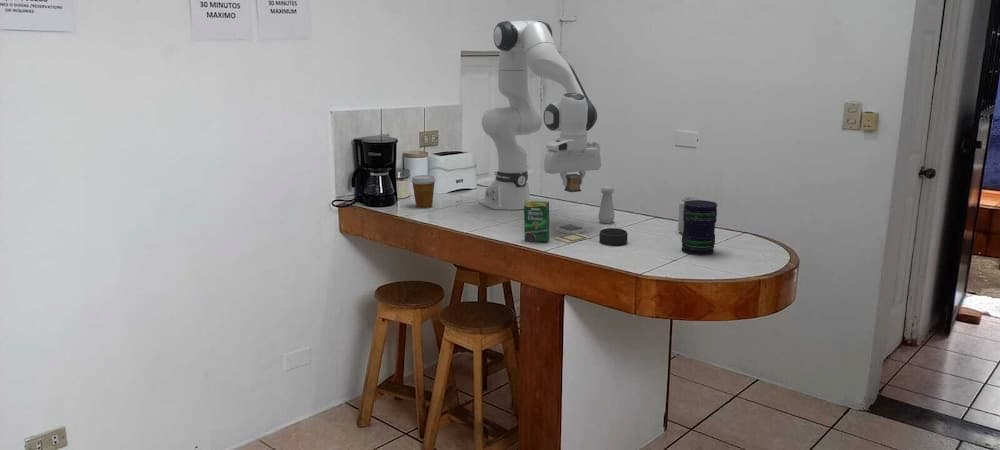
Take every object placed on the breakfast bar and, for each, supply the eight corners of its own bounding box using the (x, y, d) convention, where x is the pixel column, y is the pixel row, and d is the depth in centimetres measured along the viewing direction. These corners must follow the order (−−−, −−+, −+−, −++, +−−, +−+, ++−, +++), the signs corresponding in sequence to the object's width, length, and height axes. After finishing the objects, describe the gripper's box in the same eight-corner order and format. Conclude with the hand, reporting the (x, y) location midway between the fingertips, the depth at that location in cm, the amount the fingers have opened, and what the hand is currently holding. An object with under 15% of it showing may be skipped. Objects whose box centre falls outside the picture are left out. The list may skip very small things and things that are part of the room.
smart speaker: (621, 247, 222) (622, 235, 222) (595, 244, 227) (595, 232, 226) (631, 241, 230) (631, 229, 229) (605, 238, 234) (605, 226, 233)
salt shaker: (614, 224, 252) (615, 188, 249) (597, 223, 253) (598, 187, 250) (614, 220, 257) (616, 185, 254) (598, 220, 258) (599, 184, 255)
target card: (554, 238, 233) (554, 237, 233) (576, 234, 239) (576, 232, 239) (568, 243, 228) (568, 241, 227) (591, 238, 233) (591, 236, 233)
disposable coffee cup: (423, 203, 289) (422, 174, 286) (441, 206, 283) (440, 176, 280) (407, 207, 281) (406, 177, 278) (425, 210, 276) (424, 179, 273)
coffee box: (523, 240, 231) (523, 201, 227) (526, 238, 233) (526, 199, 230) (546, 243, 227) (547, 203, 224) (549, 241, 230) (550, 201, 227)
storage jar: (694, 257, 212) (697, 207, 208) (674, 248, 220) (676, 201, 217) (721, 253, 216) (724, 205, 212) (700, 245, 224) (703, 199, 221)
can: (685, 229, 245) (687, 195, 242) (704, 233, 240) (707, 198, 237) (673, 233, 240) (675, 198, 237) (693, 236, 235) (695, 201, 232)
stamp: (564, 190, 239) (564, 174, 237) (574, 189, 240) (574, 173, 239) (570, 192, 235) (570, 176, 234) (580, 191, 237) (581, 175, 236)
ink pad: (556, 230, 244) (556, 226, 243) (570, 227, 247) (570, 223, 247) (571, 234, 238) (571, 230, 237) (585, 232, 241) (585, 227, 241)
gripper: (594, 140, 241) (593, 181, 244) (541, 144, 233) (541, 185, 236) (605, 142, 236) (604, 183, 239) (551, 146, 227) (551, 189, 230)
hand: (572, 185), depth 237 cm, fingers closed on stamp, 4 cm apart
